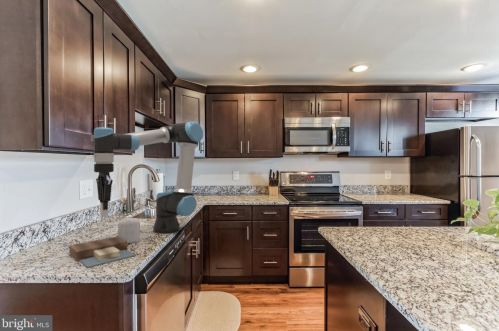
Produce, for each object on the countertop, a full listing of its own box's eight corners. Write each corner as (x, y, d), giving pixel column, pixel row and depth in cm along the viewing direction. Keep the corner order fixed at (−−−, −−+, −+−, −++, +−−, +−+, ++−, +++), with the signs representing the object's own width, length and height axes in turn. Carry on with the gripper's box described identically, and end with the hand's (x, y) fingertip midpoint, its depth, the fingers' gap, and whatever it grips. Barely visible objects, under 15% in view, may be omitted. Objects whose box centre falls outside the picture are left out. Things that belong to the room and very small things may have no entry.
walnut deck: (117, 244, 130) (117, 236, 130) (127, 250, 122) (127, 241, 122) (69, 254, 115) (69, 245, 115) (76, 261, 107) (76, 251, 107)
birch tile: (113, 252, 117) (113, 246, 117) (120, 256, 112) (120, 250, 111) (93, 256, 111) (93, 250, 111) (99, 261, 106) (99, 255, 106)
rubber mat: (125, 250, 121) (125, 249, 121) (134, 256, 114) (134, 255, 114) (80, 261, 107) (80, 260, 107) (87, 268, 101) (87, 266, 101)
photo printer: (138, 239, 138) (139, 216, 137) (140, 242, 134) (140, 217, 134) (117, 243, 132) (117, 218, 132) (118, 245, 128) (118, 220, 128)
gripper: (89, 163, 116) (90, 216, 117) (99, 163, 108) (100, 220, 108) (107, 163, 122) (108, 213, 122) (118, 163, 113) (119, 217, 114)
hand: (104, 216), depth 115 cm, fingers closed
